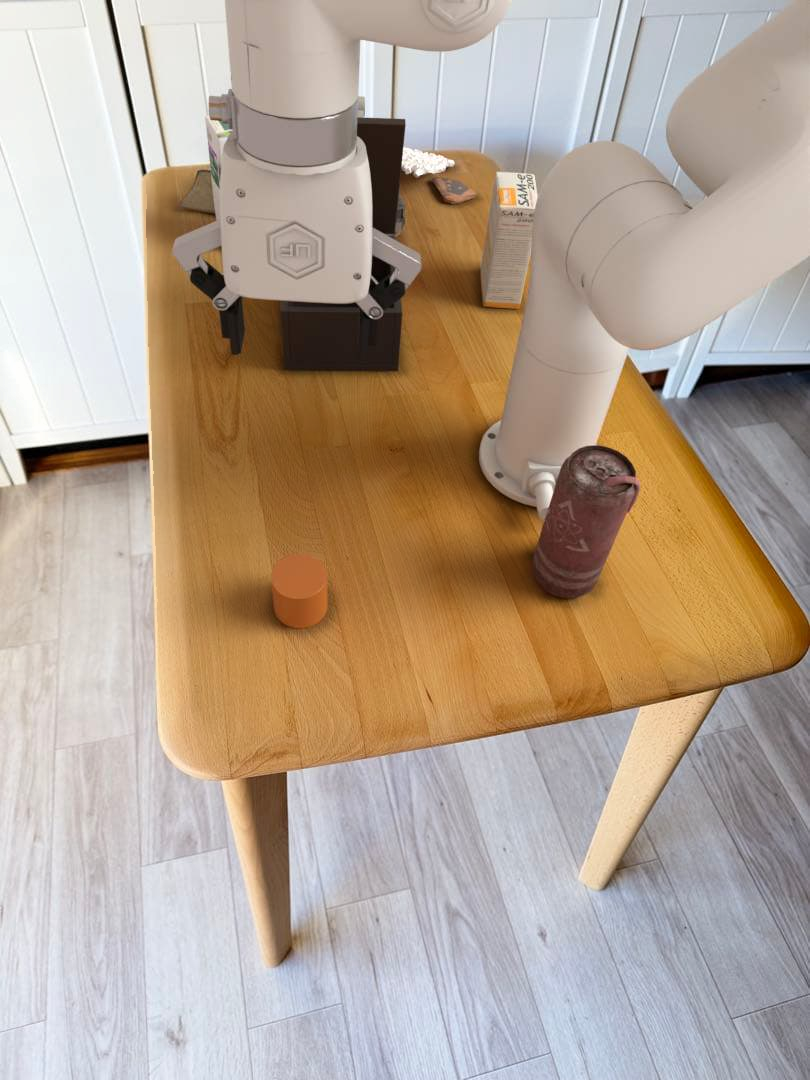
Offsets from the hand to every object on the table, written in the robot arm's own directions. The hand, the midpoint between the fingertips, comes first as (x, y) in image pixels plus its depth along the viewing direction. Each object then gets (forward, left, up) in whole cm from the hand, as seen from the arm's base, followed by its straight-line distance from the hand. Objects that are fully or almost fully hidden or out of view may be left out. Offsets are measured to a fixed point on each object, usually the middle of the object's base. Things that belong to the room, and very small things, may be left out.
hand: (300, 347), depth 63 cm
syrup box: (+46, +9, -19) cm, 50 cm away
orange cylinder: (-12, 0, -19) cm, 22 cm away
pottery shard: (+60, -22, -18) cm, 66 cm away
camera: (+45, -7, -16) cm, 48 cm away
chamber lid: (+31, -4, -3) cm, 32 cm away
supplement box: (+35, -24, -19) cm, 46 cm away
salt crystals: (+61, -9, -16) cm, 64 cm away
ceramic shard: (+55, +13, -17) cm, 59 cm away
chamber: (+27, -4, -19) cm, 33 cm away
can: (-9, -24, -19) cm, 31 cm away
